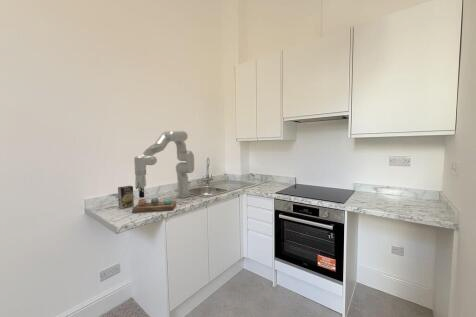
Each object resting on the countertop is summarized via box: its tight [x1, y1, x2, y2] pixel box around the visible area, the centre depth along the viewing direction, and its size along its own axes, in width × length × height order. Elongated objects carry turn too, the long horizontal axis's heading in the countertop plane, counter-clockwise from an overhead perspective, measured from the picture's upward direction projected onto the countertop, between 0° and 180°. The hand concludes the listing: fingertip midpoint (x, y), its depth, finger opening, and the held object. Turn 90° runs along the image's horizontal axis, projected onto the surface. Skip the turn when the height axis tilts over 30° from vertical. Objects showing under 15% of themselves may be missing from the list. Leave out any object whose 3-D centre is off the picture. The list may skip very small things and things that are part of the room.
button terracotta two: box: [138, 198, 147, 205], centre depth 155 cm, size 5×5×3 cm
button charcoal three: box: [150, 197, 159, 204], centre depth 156 cm, size 5×5×3 cm
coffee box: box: [117, 185, 135, 210], centre depth 162 cm, size 9×6×16 cm
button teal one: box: [163, 198, 172, 205], centre depth 157 cm, size 5×5×3 cm
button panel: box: [131, 200, 177, 214], centre depth 156 cm, size 14×28×3 cm, turn 98°
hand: (141, 197), depth 154 cm, fingers closed
